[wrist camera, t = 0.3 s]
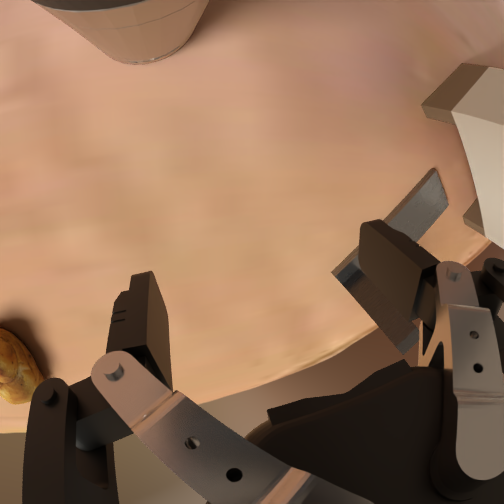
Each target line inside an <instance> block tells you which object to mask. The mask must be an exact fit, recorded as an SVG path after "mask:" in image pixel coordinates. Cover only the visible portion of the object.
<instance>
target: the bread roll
mask: <svg viewBox="0 0 504 504" xmlns="http://www.w3.org/2000/svg"><path fill="white" fill-rule="evenodd" d="M43 381H44V378H43V375H42V373H41V372H40V370H39V369H38V367H37V365H36V362H35V360H34V358H33V357H32V355H31V353H30V352H29V350H28V349H27V348H26V346H25V345H24V343H23V342H21V341H20V340H19V339H18V338H17V337H16V336H15V335H14V334H13V333H11V332H9V331H6V330H5V329H2V328H0V396H1V397H2V398H3V399H5V400H6V401H8V402H9V403H11V404H23V403H27V402H30V401H31V399H32V395H33V393H34V391H35V389H36V388H37V386H38V385H39V384H40V383H42V382H43Z"/></svg>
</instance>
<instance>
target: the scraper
mask: <svg viewBox="0 0 504 504" xmlns="http://www.w3.org/2000/svg"><path fill="white" fill-rule="evenodd" d="M448 206H449V204H448V201H447V198H446V195H445V193H444V190H443V187H442V184H441V182H440V179H439V176H438V174H437V171H435V170H433V169H430V170H429V171H428V173H427V174H426V175H425V176H424V177H423V178H422V179H421V180H420V182H419V183H418V184H417V185H416V186H415V187H414V188H413V189H412V190H411V191H410V192H409V194H408V195H407V196H406V197H405V198H404V199H403V200H402V201H401V202H400V203H399V204H398V205H397V206H396V207H395V209H394V210H393V211H392V212H391V213H390V214H389V215H388V216H387V217H386V218H385V219H384V220H383V221H384V222H385V223H386V224H388V225H389V226H390V227H392V228H393V229H395V230H398V231H400V232H403V233H404V234H406V235H407V236H408V237H410V238H411V239H412V241H415V242H417V241H418V240H419V239H420V238H421V237H422V236H423V234H424V233H425V232H426V231H427V230H428V229H429V228H430V227H431V225H432V224H433V223H434V222H435V221H436V220H437V219H438V217H439V216H440V215H441V214H442V213H443V212H444V210H445V209H446V208H447V207H448ZM358 253H359V245H358V246H357V247H356V248H355V249H354V250H353V251H352V252H351V253H350V254H349V255H348V256H347V257H346V258H345V259H344V260H343V261H342V262H341V263H340V264H339V265H338V266H337V267H336V268H335V269H334V270H333V271H332V272H331V273H332V274H333V275H334V276H335V277H336V278H337V279H338V281H339V282H340V283H341V284H342V285H343V286H344V287H345V288H346V289H347V290H348V292H349V293H350V294H351V295H352V296H353V297H354V298H355V300H356V301H357V302H358V303H359V304H360V305H361V306H362V308H363V309H364V310H365V311H366V312H367V313H368V314H369V316H370V317H371V318H372V319H373V320H374V321H375V323H376V324H377V325H378V326H379V327H380V328H381V330H383V332H384V333H385V334H386V336H387V337H388V338H389V339H390V340H391V342H392V343H393V344H394V345H395V346H396V348H397V349H398V350H399V351H400V352H401V353H402V354H403V355H404V354H405V353H406V352H407V351H408V350H409V349H410V348H411V347H412V346H413V345H415V344H416V343H417V342H418V341H419V330H418V328H417V327H416V326H415V325H414V324H413V323H412V321H410V322H407V320H406V319H405V318H404V317H403V316H402V315H401V313H400V312H399V311H398V310H397V309H396V308H395V307H394V305H393V304H392V303H391V302H390V301H389V300H388V299H387V298H386V296H385V295H384V294H383V293H382V292H381V291H380V290H379V289H378V288H377V286H376V285H375V284H374V283H373V282H372V281H371V280H370V279H369V278H368V277H367V276H366V274H365V273H364V272H363V271H362V270H361V268H360V265H359V261H358Z"/></svg>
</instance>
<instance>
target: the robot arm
mask: <svg viewBox="0 0 504 504" xmlns="http://www.w3.org/2000/svg"><path fill="white" fill-rule="evenodd" d="M31 1H33V2H35V3H36V4H38V5H39V6H41V7H42V8H44V9H45V10H46V11H48V12H49V13H51V14H52V15H54V16H55V17H56V18H58V19H59V20H61V21H62V22H64V23H65V24H67V25H68V26H69V27H71V28H72V29H73V30H75V31H76V32H77V33H79V34H80V35H81V36H83V37H84V38H85V39H87V40H88V41H89V42H91V43H92V44H93V45H95V46H96V47H97V48H98V49H100V50H101V51H102V52H103V53H105V54H106V55H108V56H109V57H111V58H112V59H114V60H116V61H119V62H122V63H126V64H133V65H136V64H148V63H152V62H156V61H159V60H161V59H164V58H166V57H168V56H170V55H171V54H173V53H175V52H176V51H177V50H178V49H180V48H181V47H182V46H183V45H184V44H185V43H186V42H187V40H188V39H189V38H190V36H191V35H192V33H193V31H194V29H195V27H196V25H197V23H198V22H199V20H200V18H201V16H202V14H203V12H204V10H205V8H206V6H207V4H208V3H209V1H210V0H31ZM358 261H359V265H360V268H361V270H362V271H363V272H364V273H365V274H366V276H367V277H368V278H369V279H370V280H371V281H372V282H373V283H374V284H375V285H376V286H377V288H378V289H379V290H380V291H381V292H382V293H383V294H384V295H385V296H386V298H387V299H388V300H389V301H390V302H391V303H392V304H393V305H394V307H395V308H396V309H397V310H398V311H399V312H400V313H401V315H402V316H403V317H404V318H405V319H406V320H407V322H410V321H412V320H415V319H417V318H419V317H420V319H421V323H420V327H419V361H418V367H410V366H409V365H408V363H407V362H406V361H405V359H403V360H401V361H399V362H396V363H394V364H392V365H390V366H388V367H386V368H383V369H381V370H378V371H376V372H374V373H373V374H372V375H370V376H369V377H368V378H367V379H365V380H364V381H363V382H361V383H360V384H358V385H357V386H356V387H354V388H353V389H352V390H350V391H348V392H346V393H344V394H337V395H330V396H322V397H313V398H305V399H301V400H298V401H295V402H292V403H288V404H285V405H282V406H279V407H275V408H271V409H268V410H267V413H268V418H269V420H268V421H266V422H264V423H262V424H260V425H259V426H258V427H256V428H255V429H253V430H252V431H251V432H250V433H249V434H248V435H247V436H246V437H245V438H243V437H242V436H240V435H238V434H237V433H236V432H234V431H233V430H231V429H230V428H228V427H227V426H225V425H224V424H223V423H221V422H220V421H218V420H217V419H216V418H214V417H213V416H212V415H210V414H209V413H207V412H206V411H205V410H203V409H202V408H201V407H199V406H198V405H197V404H196V403H194V402H193V401H192V400H190V399H189V398H188V397H187V396H185V395H184V394H183V393H181V392H179V391H177V390H176V391H175V392H173V385H172V373H171V359H170V343H169V322H168V314H167V310H166V306H165V303H164V301H163V298H162V295H161V293H160V290H159V287H158V284H157V282H156V279H155V276H154V274H153V272H152V271H148V272H144V273H139V274H135V275H132V276H131V281H130V287H129V290H128V291H123V292H121V293H120V295H119V296H118V298H117V299H116V300H115V302H114V306H113V312H112V313H113V315H112V317H111V324H110V329H109V335H108V342H107V348H106V354H105V355H104V356H102V357H101V358H100V359H98V360H97V362H96V363H95V364H94V366H93V368H92V371H91V376H90V377H88V378H86V379H84V380H82V381H79V382H77V383H75V384H73V385H70V386H68V385H67V384H66V383H65V382H64V381H63V380H62V379H60V378H49V379H47V380H45V381H43V382H42V383H40V384H39V385H38V386H37V388H36V389H35V391H34V393H33V395H32V399H31V405H30V411H29V418H28V425H27V432H26V442H25V451H24V464H23V487H22V488H23V489H22V502H23V503H22V504H119V499H118V492H117V483H116V474H115V463H114V450H113V442H114V441H117V440H119V439H122V438H124V437H126V436H129V435H131V434H133V433H135V434H136V436H137V437H138V438H139V439H140V440H141V441H142V442H143V443H144V444H145V445H146V446H147V447H148V448H149V449H150V450H151V451H152V452H153V453H154V454H155V455H156V456H157V457H158V458H159V459H160V460H161V461H163V463H164V464H166V466H167V467H168V468H170V469H171V470H172V471H173V472H174V473H175V474H176V475H177V476H178V477H180V478H181V479H182V480H183V481H184V482H185V483H186V484H188V485H189V486H190V487H191V488H192V489H193V490H195V491H196V492H197V493H198V494H200V495H201V496H202V497H203V498H205V499H206V500H207V502H206V504H504V383H503V375H502V372H503V373H504V322H503V321H502V320H501V319H500V318H499V317H498V316H497V314H498V312H499V310H500V308H501V305H502V303H503V302H504V261H502V260H500V259H497V258H488V259H486V260H485V262H484V265H483V267H482V271H474V272H470V271H469V270H468V269H467V268H466V267H465V266H464V265H462V264H460V263H457V262H453V261H444V262H440V261H439V260H437V259H436V258H435V257H434V256H432V255H431V254H430V253H429V252H428V251H426V250H425V249H424V248H423V247H421V246H419V244H417V243H416V242H415V241H412V239H411V238H410V237H408V236H407V235H406V234H404V233H403V232H400V231H398V230H395V229H393V228H392V227H390V226H389V225H388V224H386V223H385V222H384V221H382V220H380V219H377V220H373V221H369V222H364V223H362V224H361V227H360V239H359V253H358Z"/></svg>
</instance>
